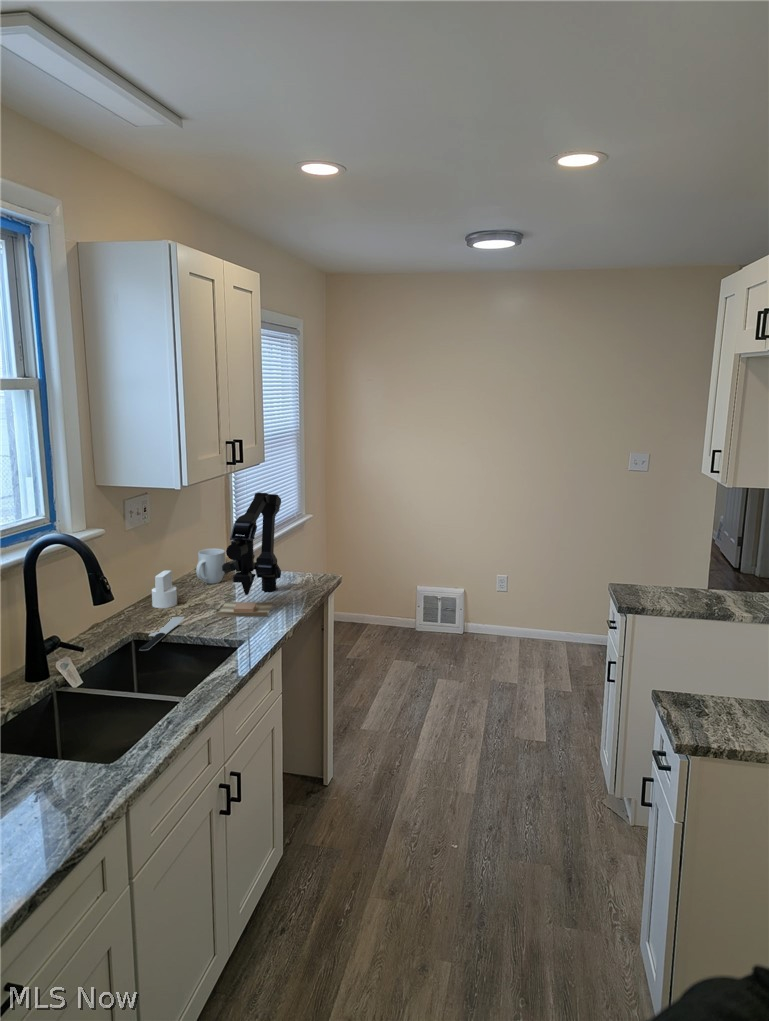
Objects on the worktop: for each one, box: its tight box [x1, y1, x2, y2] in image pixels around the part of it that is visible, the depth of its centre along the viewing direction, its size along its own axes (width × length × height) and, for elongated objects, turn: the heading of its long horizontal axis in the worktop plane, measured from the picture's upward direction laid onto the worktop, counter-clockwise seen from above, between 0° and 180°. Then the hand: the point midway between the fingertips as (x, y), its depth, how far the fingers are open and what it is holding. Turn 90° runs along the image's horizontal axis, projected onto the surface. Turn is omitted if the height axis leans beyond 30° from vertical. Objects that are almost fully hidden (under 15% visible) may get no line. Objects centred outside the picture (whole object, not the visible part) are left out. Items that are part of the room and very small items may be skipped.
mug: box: [195, 548, 227, 585], centre depth 285 cm, size 15×11×13 cm
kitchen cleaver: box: [138, 616, 185, 652], centre depth 229 cm, size 31×2×10 cm
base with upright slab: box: [151, 570, 178, 609], centre depth 257 cm, size 9×9×12 cm
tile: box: [234, 603, 256, 612], centre depth 249 cm, size 2×7×7 cm
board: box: [215, 601, 274, 618], centre depth 250 cm, size 16×18×2 cm
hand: (246, 594), depth 253 cm, fingers closed
